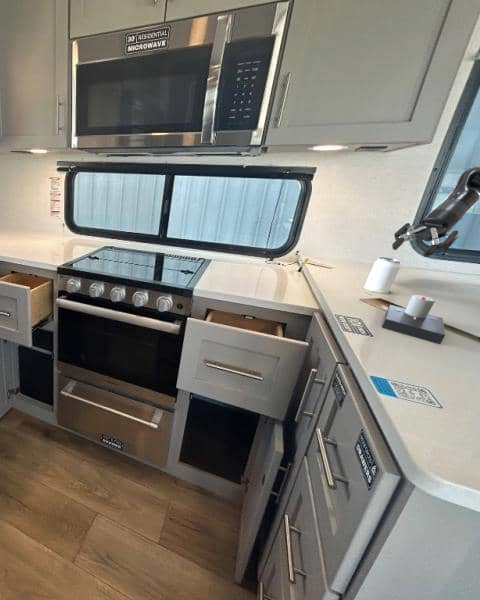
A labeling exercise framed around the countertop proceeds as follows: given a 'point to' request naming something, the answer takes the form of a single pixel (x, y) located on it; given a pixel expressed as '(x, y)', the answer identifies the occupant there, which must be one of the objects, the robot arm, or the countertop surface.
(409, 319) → the block
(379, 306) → the cork mat
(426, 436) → the countertop surface
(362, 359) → the countertop surface
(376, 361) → the countertop surface
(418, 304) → the knob
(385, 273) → the can
